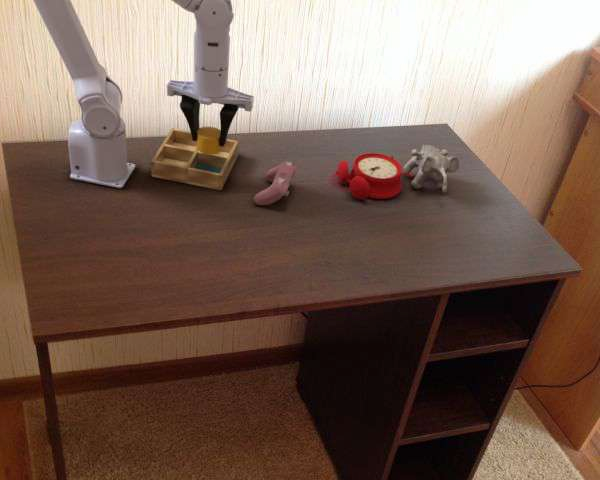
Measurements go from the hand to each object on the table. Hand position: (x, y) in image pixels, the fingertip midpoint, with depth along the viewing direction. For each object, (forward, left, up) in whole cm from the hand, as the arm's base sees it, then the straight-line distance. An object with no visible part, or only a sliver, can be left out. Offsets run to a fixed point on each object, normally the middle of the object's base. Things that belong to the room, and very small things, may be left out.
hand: (209, 141), depth 133 cm
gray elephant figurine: (+41, +12, -7) cm, 43 cm away
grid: (-3, +3, -7) cm, 8 cm away
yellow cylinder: (0, 0, -1) cm, 1 cm away
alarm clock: (+29, +8, -7) cm, 31 cm away
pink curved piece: (+13, -1, -7) cm, 15 cm away
